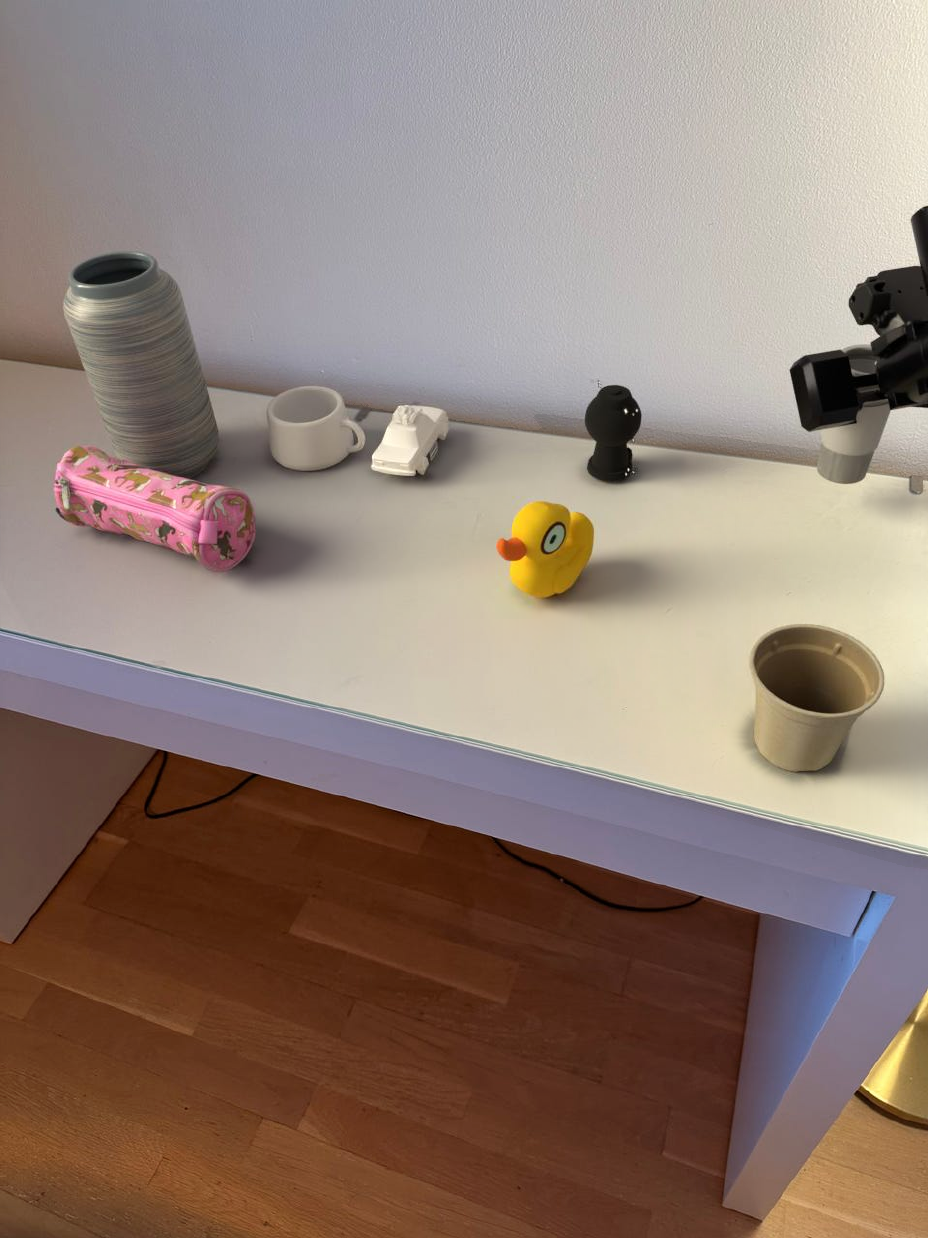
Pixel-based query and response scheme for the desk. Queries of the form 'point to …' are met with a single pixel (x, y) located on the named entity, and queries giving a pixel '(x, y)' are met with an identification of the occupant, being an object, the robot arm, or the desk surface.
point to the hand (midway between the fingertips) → (849, 404)
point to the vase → (142, 362)
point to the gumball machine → (612, 432)
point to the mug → (311, 428)
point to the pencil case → (155, 507)
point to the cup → (854, 430)
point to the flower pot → (810, 692)
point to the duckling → (547, 548)
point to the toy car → (410, 440)
